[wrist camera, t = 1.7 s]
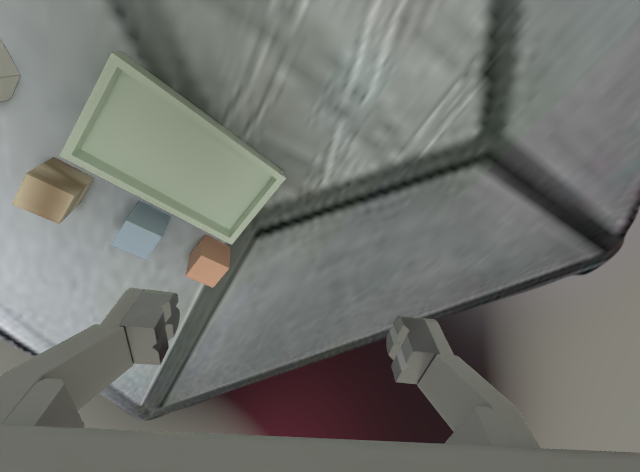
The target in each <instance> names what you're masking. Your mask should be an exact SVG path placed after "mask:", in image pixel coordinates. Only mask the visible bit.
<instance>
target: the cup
mask: <svg viewBox="0 0 640 472" xmlns="http://www.w3.org/2000/svg"><path fill="white" fill-rule="evenodd" d="M19 78H20V73H19V72H18V70H17V68H16V66H15V64H14V63H13V61H12V59H11V57H10V55H9V54H8V52H7V50H6V48H5V46H4V45H3V43H2V41H0V102H1V101H5V100H9V99H11V97H12V95H13V92H14V90H15V88H16V85H17V83H18V80H19Z"/></svg>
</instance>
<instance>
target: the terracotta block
mask: <svg viewBox="0 0 640 472" xmlns="http://www.w3.org/2000/svg"><path fill="white" fill-rule="evenodd" d="M229 264H230V247H229V246H227V245H225V244H223V243H221V242H219V241H218V240H216V239H214V238H212V237H210V236H208V235H206V234H205V236H204V237H203V238H202V240H201V241H200V242H199V244H198V245H197V246H196V247H195V249H194V250H193V251H192V253H191V254H190V259H189V263H188V267H187V271H186V275H185V276H186V277H188V278H191V279H193V280H196V281H198V282H201V283H203V284H205V285H208V286H210V287H214V286H215V285H216V283H217V282H218V281H219V280H220V279H221V278H222V276H223V275H224V274H225V273H226V272H227V270H228V269H229Z"/></svg>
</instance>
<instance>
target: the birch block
mask: <svg viewBox="0 0 640 472" xmlns="http://www.w3.org/2000/svg"><path fill="white" fill-rule="evenodd" d="M93 180H94V177H92V176H90V175H88V174H86V173H84V172H82V171H80V170H78V169H76V168H74V167H72V166H70V165H68V164H66V163H64V162H62V161H60V160H58V159H56V158H54V157H53V158H52V159H50V160H48V161H47V162H45V163H43V164H42V165H40V166H38V167H37V168H35V169H33V170H32V171H30V172H28V173H27V174H26V175H25V177H24V180H23V182H22V184H21V186H20V188H19V190H18V192H17V195H16V197H15V199H14V201H13V203H12V204H13V205H15V206H17V207H20V208H22V209H25V210H27V211H29V212H32V213H34V214H37V215H39V216H42V217H44V218H46V219H49V220H51V221H54V222H56V223H58V224H60V223H61V222H62V221H63V220H64V219H65V218H66V217H67V216H68V215H69V214H70V213H71V212H72V211H73V210H74V209H75V208H76V207H77V206H78V205H79V204H80V203H81V201H82V199H83V197H84V196H85V194H86V192H87V190H88V189H89V187H90V185H91V183H92V181H93Z"/></svg>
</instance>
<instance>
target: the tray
mask: <svg viewBox="0 0 640 472" xmlns="http://www.w3.org/2000/svg"><path fill="white" fill-rule="evenodd" d="M60 157H62V158H64V159H66V160H68V161H70V162H72V163H74V164H76V165H77V166H79V167H81V168H83V169H85V170H87V171H89V172H91V173H93V174H95V175H97V176H99V177H101V178H103V179H105V180H107V181H109V182H111V183H112V184H114V185H116V186H118V187H120V188H122V189H124V190H126V191H128V192H130V193H132V194H134V195H136V196H138V197H140V198H142V199H144V200H146V201H147V202H149V203H151V204H153V205H155V206H157V207H159V208H161V209H163V210H165V211H167V212H169V213H171V214H173V215H175V216H177V217H179V218H181V219H182V220H184V221H186V222H188V223H190V224H192V225H194V226H196V227H198V228H200V229H202V230H204V231H206V232H208V233H210V234H212V235H214V236H215V237H217V238H219V239H221V240H223V241H225V242H227V243H229V244H231V245H232V244H233V243H234V241H235V240H236V239H237V238H238V236H239V235H240V234H241V233H242V232H243V230H244V229H245V228H246V227H247V225H248V224H249V223H250V222H251V221H252V219H253V218H254V217H255V216H256V214H257V213H258V212H259V211H260V210H261V208H262V207H263V206H264V205H265V203H266V202H267V201H268V200H269V198H270V197H271V196H272V195H273V194H274V192H275V191H276V190H277V189H278V187H279V186H280V185H281V184H282V183H283V181H284V180H285V179H286V177H285V174H284V171H283V170H282V169H280V168H279V167H278V166H276V165H275V164H273V163H272V162H271V161H269V160H268V159H267V158H265V157H264V156H263V155H261V154H260V153H258V152H257V151H256V150H254V149H253V148H252V147H250V146H249V145H248V144H246V143H245V142H244V141H242V140H241V139H239V138H238V137H237V136H235V135H234V134H233V133H231V132H230V131H229V130H227V129H226V128H225V127H223V126H222V125H220V124H219V123H218V122H216V121H215V120H214V119H212V118H211V117H210V116H208V115H207V114H206V113H204V112H203V111H201V110H200V109H199V108H197V107H196V106H195V105H193V104H192V103H191V102H189V101H188V100H187V99H185V98H184V97H182V96H181V95H180V94H178V93H177V92H176V91H174V90H173V89H172V88H170V87H169V86H168V85H166V84H165V83H163V82H162V81H161V80H159V79H158V78H157V77H155V76H154V75H153V74H151V73H150V72H148V71H147V70H146V69H144V68H143V67H142V66H140V65H139V64H138V63H136V62H135V61H134V60H132V59H131V58H129V57H128V56H127V55H125V54H124V53H123V52H111V54H110V56H109V58H108V60H107V62H106V64H105V66H104V68H103V70H102V72H101V74H100V76H99V78H98V80H97V82H96V84H95V86H94V88H93V90H92V92H91V94H90V96H89V98H88V100H87V102H86V104H85V106H84V108H83V110H82V112H81V114H80V116H79V118H78V120H77V122H76V124H75V126H74V128H73V130H72V132H71V134H70V136H69V138H68V140H67V142H66V144H65V146H64V148H63V150H62V152H61V154H60Z"/></svg>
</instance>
